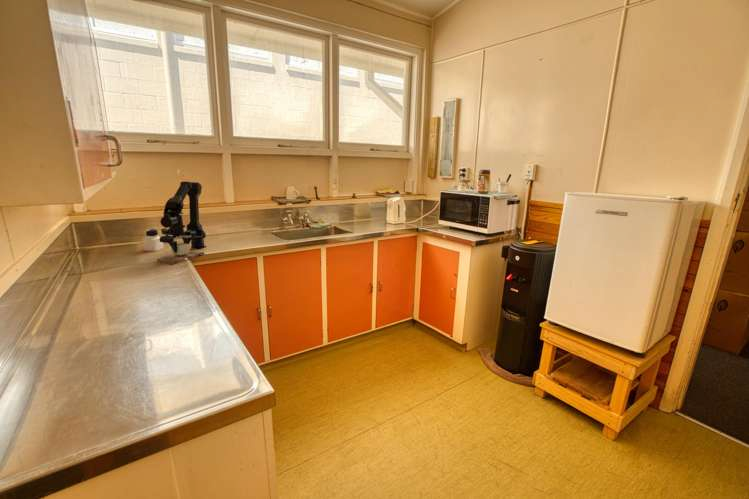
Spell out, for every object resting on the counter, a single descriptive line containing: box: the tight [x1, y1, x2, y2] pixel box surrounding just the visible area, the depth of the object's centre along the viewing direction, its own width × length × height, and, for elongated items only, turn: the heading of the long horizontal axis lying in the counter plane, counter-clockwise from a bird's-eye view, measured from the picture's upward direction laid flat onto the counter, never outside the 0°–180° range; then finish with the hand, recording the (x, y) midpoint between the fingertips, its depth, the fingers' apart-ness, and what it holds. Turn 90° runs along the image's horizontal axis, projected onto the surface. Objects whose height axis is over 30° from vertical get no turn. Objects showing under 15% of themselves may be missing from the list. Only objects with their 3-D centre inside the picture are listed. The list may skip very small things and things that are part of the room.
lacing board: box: [156, 244, 205, 265], centre depth 192 cm, size 20×12×8 cm, turn 157°
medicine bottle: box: [142, 228, 165, 252], centre depth 206 cm, size 7×7×12 cm
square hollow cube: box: [171, 242, 190, 255], centre depth 191 cm, size 6×6×5 cm
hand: (180, 251), depth 192 cm, fingers closed on square hollow cube, 6 cm apart
